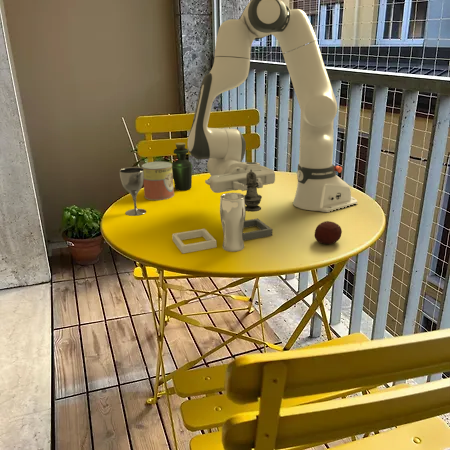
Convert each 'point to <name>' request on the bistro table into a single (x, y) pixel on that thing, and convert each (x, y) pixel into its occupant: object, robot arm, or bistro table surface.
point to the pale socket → (194, 246)
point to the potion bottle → (182, 169)
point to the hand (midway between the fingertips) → (252, 186)
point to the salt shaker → (252, 193)
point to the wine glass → (133, 186)
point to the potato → (328, 232)
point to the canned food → (158, 180)
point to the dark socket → (263, 232)
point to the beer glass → (233, 220)
